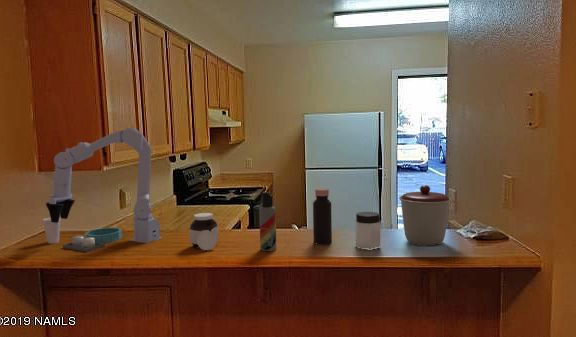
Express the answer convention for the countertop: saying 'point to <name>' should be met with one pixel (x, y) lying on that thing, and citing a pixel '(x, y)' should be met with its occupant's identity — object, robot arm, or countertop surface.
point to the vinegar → (322, 217)
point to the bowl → (105, 234)
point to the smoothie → (52, 230)
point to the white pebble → (77, 241)
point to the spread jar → (204, 231)
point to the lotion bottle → (267, 224)
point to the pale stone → (88, 242)
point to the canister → (425, 216)
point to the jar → (367, 229)
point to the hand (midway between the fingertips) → (59, 220)
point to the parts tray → (97, 246)
